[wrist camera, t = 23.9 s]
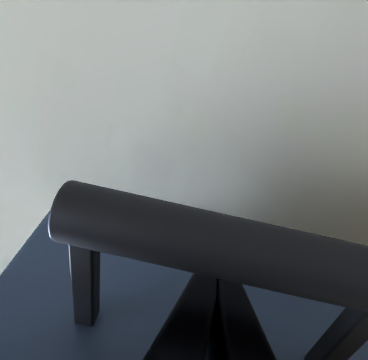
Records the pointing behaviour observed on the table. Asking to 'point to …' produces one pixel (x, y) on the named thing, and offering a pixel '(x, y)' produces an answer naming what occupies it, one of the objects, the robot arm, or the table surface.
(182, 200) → the table surface
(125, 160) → the table surface
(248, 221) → the drawer
